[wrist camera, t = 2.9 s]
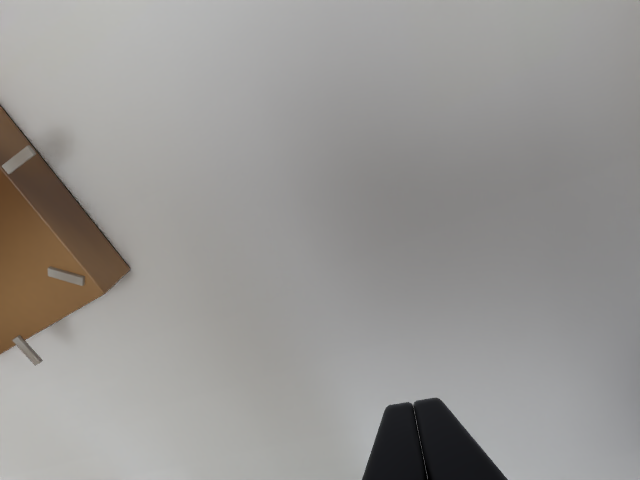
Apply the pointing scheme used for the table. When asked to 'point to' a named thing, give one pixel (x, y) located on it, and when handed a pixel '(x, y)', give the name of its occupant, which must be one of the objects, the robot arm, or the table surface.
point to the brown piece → (44, 246)
